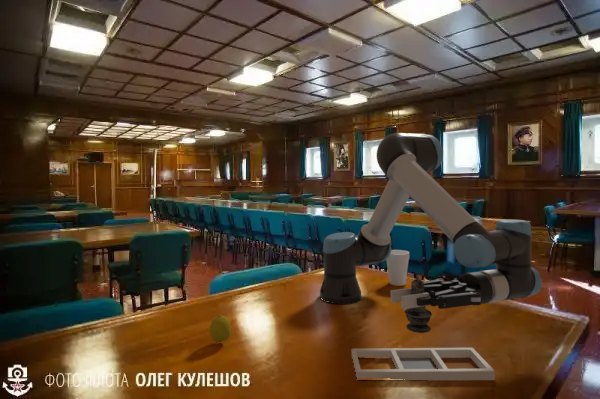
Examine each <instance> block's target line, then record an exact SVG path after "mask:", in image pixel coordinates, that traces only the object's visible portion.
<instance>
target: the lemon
mask: <svg viewBox="0 0 600 399" xmlns="http://www.w3.org/2000/svg"><path fill="white" fill-rule="evenodd" d="M209 326H210V327H209V334H210V337H211V339H212V341H214V342H215V341H216V343H218V342H222V341H224V342H226V341H227V340H228V339H229V338H230V336H231V334H232V331H231V330H232V327H231V321H230V320H229V318H228V317H226V316H225V315H222V314H218V315H217V316H215V317H214V318H213V319H212V321H211V322H210V325H209ZM225 340H226V341H225Z"/></svg>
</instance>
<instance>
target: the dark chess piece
mask: <svg viewBox="0 0 600 399" xmlns="http://www.w3.org/2000/svg"><path fill="white" fill-rule="evenodd" d="M424 282H425V281H423V280H421V279H420V276H418V275H417V276H416V277H415V279H414V280H412V281H411V282H410V283H411V286H410V288H411V294H410V295H412V294H419V293H424ZM404 314H405V316H406V319H407V321H408V322H409V323H407V324H406V325H405V327H406V329H407V330H409V331H410V332H413V333H418V334H419V333H420V334H423V333H429V332H430V331H431V326H429V325H428V323H429V322H430V320H431V317H432V315H433V313H432V312H431V311H430V310H429V309H427V306H423V307H416V308H410V309H404Z"/></svg>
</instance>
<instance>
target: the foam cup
mask: <svg viewBox="0 0 600 399" xmlns="http://www.w3.org/2000/svg"><path fill="white" fill-rule="evenodd" d="M409 260H410V251H408V250H404V249H403V250H402V249H392V250H391V253H390V255H389V257H388V258H387V259H386V260H385V261H386V267H387V272H388V273H387V274H388V280H389V284H390V285H392V286H396V287H398V286H399V287H400V286H401V287H402V286H405V285H406V284H407V277H408V276H407V275H408V268H409Z"/></svg>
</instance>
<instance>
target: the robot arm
mask: <svg viewBox="0 0 600 399" xmlns="http://www.w3.org/2000/svg"><path fill="white" fill-rule="evenodd" d="M442 147H443V146H442V144H441V142H440V140H439V139H438V138H437V137H435V136H434V135H431V134H426V133H406V132H404V133H403V132H394V133H391V134H388V135H386V136H385V137H384V138H383V139H381V142H380V143H378V146H377V149H376V160H377V161H376V162H377V164H378V167H379V168H380V170H381V171H382V173H383V174H384V175H385V176H386V177H387V178H388V181H387V183H386V185H385V187H384V189H383V192H382V194H381V195H380V198H379V200H378V202H377V205H376V206H375V207H374V208H375V209H374V211H373V212H372V215H371V216H370V219H369V221H368V223H367V224H363V225H362V227H361V228H360V230H359V231H358V234H355V233H353V232H352V231H351V232H350V231H342V232H335V233H331V234H328V235H327V236H326V237H324V240H323V247H322V251H323V279H322V282H321V283H322V284H321V287H320V290H319V298H320V297H321V298H322V299H323V300H325V301H329V302H333V303H350V304H355V303H357V302H359V301H360V300H361V299H362V291H361V287H360V284H359V282H358V279H357V268H358V267H364V266H368V265H374V264H379V263H383V262H385V261H386V259H387V258H388V257H389V255H390V253H391V250H393V248H392V247H391V246H392V239H391V238H392V237H391V235H390V233H391V232H392V230H393V228H394V227H395V225H396V222H397V221H398V219H399V218H400V216H401V213H402V211H403V209H404V208H405V206H406V204H407V202H408V200H409V198H411V199H412V200H413V201H414V202H415V203H416V204H417V206H419V207H420V208H421V210H422V211H424V213H425V214H426V215H427V216H428V217H429V218H430V220H432V222H433V223H435V225H436V226H437V227H438V228H439V229H440V230H441V231H442V232H443V233H444V234H445V235H446V237H447V238H448V239H449V240H450V241H451V242H452V243H453V253H454V256H455V259H456V260H457V262H458V263H459V264H461V265H462V266H464V267H466V268H468V269H469V268H470V269H473V268H474V269H475V268H485V267H488V266H490V265H494V264H495V266H496V268H495V269H494V268H493V269H487V270H479V271H473V272H472V271H471V272H465V273H463V274H462V275H461V276H460V277H459V279H458V280H457V279H452V280H450V281H444V278H441V277H440V278H437V279H433V280H426V281H423V282H424V293H419V294H412V295H410V294H411V287H405V288H399V289H391V290H390V303H392V304H396V303H400V304H401V307H400V308H401V309H402V310H406V309H410V308H416V307H423V306H425V307H427V306H428V307H429V306H431V307H438V308H439V309H440V310H441V309H442V310H443V309H451V308H459V307H466V306H481V305H485V304H488V303H489V304H491V305H492V304H494V303H497V302H501V301H503V302H504V301H509V300H515V299H525V298H528V297H532V296H535V295H537V294H538V293H539V292H540V291H541V290H542V287H543V278H541V275H540V273H539V271H538V269H536V268H534V267H532V238H533V235H532V225H531V223H530V222H529V221H527V220H524V219H505V218H504V219H498V220H497V222H496V223H495V228H494V230H490V231H488V230H487V229H486V228H485V227H484V226H483V225H482V224H480V223H479V222H478V221H477V220H476V219H475V217H473V216H472V215H471V214H470V213H469V212H468V211H467V210H466V209H465V208H464V207H463V206H462V205H461V204H460V203H459V202H458V201H457V200H456V199H455V198H454V197H453V196H451V195H450V194H449V193H448V192H447V190H446V189H444V188H443V187H442V185H440V183H438V182H437V181H436V180H435V179H434V178H433V177H432V176H431V175H430V174H429V173H428V172H433V171H434V170H436V169H438V168H439V167H440V166H441V164H442V162H443V158H444V150H443V148H442ZM323 300H322V301H323ZM325 301H324V302H325ZM354 302H355V303H354Z"/></svg>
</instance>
